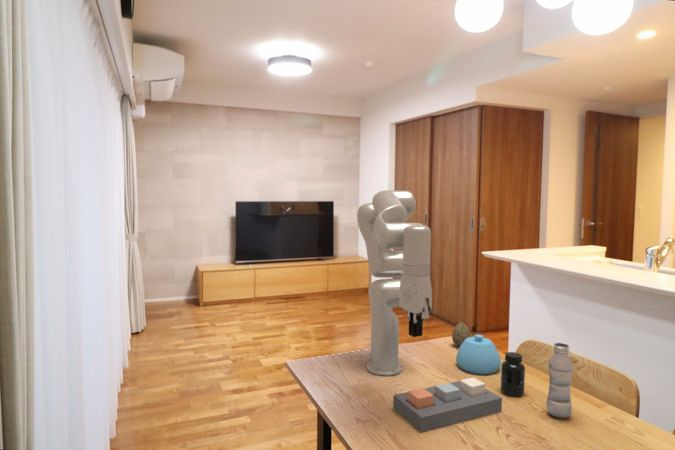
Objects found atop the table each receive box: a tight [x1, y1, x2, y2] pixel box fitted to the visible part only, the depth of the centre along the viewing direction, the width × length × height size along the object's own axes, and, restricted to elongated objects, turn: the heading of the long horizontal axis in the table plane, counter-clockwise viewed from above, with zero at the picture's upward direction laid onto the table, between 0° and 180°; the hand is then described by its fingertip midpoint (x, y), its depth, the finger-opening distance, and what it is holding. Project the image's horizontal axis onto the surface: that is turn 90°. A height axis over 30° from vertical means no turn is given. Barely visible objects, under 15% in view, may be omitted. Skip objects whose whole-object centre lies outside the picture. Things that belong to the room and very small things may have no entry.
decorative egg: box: [451, 321, 472, 348], centre depth 180 cm, size 7×7×10 cm
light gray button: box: [434, 382, 460, 403], centre depth 129 cm, size 5×5×4 cm
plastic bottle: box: [545, 342, 574, 419], centre depth 125 cm, size 6×7×20 cm
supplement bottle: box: [500, 351, 526, 398], centre depth 140 cm, size 7×7×12 cm
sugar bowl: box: [455, 333, 502, 375], centre depth 160 cm, size 15×15×12 cm
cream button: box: [459, 377, 486, 397], centre depth 132 cm, size 5×5×4 cm
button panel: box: [392, 380, 503, 433], centre depth 129 cm, size 14×27×4 cm, turn 114°
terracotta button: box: [407, 387, 434, 409], centre depth 125 cm, size 5×5×4 cm
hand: (415, 335), depth 126 cm, fingers closed
